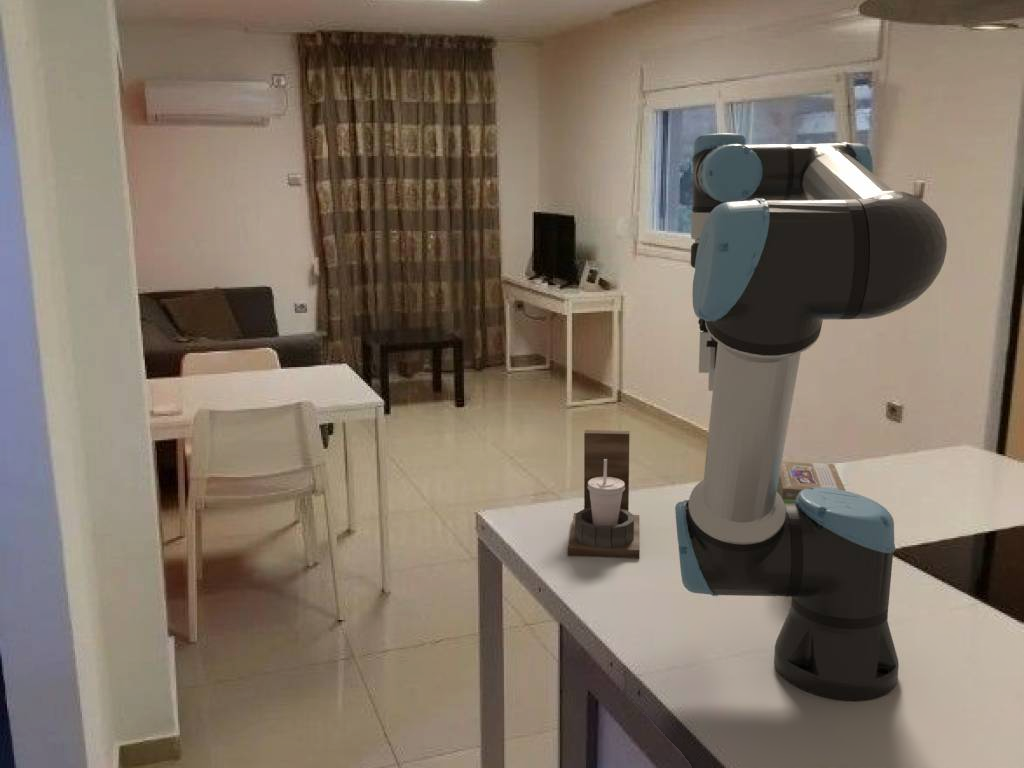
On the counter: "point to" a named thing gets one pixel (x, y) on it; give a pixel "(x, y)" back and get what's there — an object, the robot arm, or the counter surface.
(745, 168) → the robot arm
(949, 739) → the counter surface
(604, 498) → the smoothie
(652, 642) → the counter surface
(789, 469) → the tea box
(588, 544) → the cup bracket
